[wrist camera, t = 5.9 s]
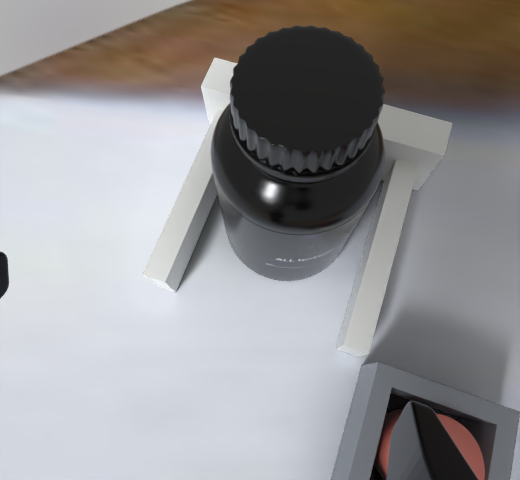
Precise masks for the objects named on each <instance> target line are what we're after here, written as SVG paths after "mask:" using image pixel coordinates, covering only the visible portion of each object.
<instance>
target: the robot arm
mask: <svg viewBox="0 0 520 480" xmlns="http://www.w3.org/2000/svg"><path fill="white" fill-rule="evenodd" d="M8 286H9V274H8V259H7V256H6V255H5V254H4V253H3V252H0V298H1V297H2V296H3V295H4V294H5V292H6V291H7V289H8ZM386 480H479V479H478V478H477V476H476V475H475V473H474V472H473V470H472V469H471V467H470V466H469V464H468V463H467V461H466V459H465V458H464V456H463V455H462V453H461V452H460V450H459V449H458V447H457V446H456V444H455V443H454V441H453V439H452V438H451V436H450V435H449V433H448V432H447V430H446V429H445V427H444V426H443V424H442V423H441V421H440V419H439V418H438V416H437V415H436V413H435V412H434V410H433V409H432V408H431V407H429V406H427V405H424V404H421V403H418V402H415V401H409V402H408V403H407V404H406V406H405V408H404V410H403V411H402V413H401V415H400V417H399V419H398V420H397V422H396V424H395V426H394V428H393V430H392V434H391V439H390V448H389V458H388V468H387V478H386Z"/></svg>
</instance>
